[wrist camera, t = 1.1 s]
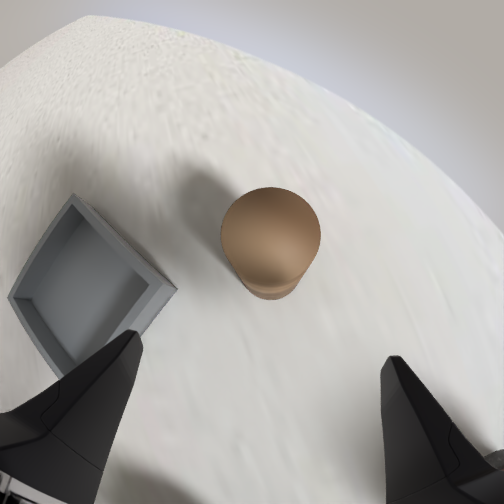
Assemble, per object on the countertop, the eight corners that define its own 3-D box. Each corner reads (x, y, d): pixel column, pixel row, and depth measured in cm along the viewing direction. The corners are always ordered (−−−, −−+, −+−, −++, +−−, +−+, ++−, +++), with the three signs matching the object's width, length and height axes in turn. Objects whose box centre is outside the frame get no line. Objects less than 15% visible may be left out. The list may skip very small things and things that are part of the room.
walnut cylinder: (276, 312, 23) (280, 303, 13) (228, 275, 24) (200, 241, 14) (312, 264, 24) (339, 224, 14) (265, 229, 25) (261, 171, 15)
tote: (97, 394, 22) (76, 401, 19) (28, 301, 25) (7, 297, 21) (177, 289, 24) (163, 283, 21) (91, 206, 27) (73, 192, 23)
